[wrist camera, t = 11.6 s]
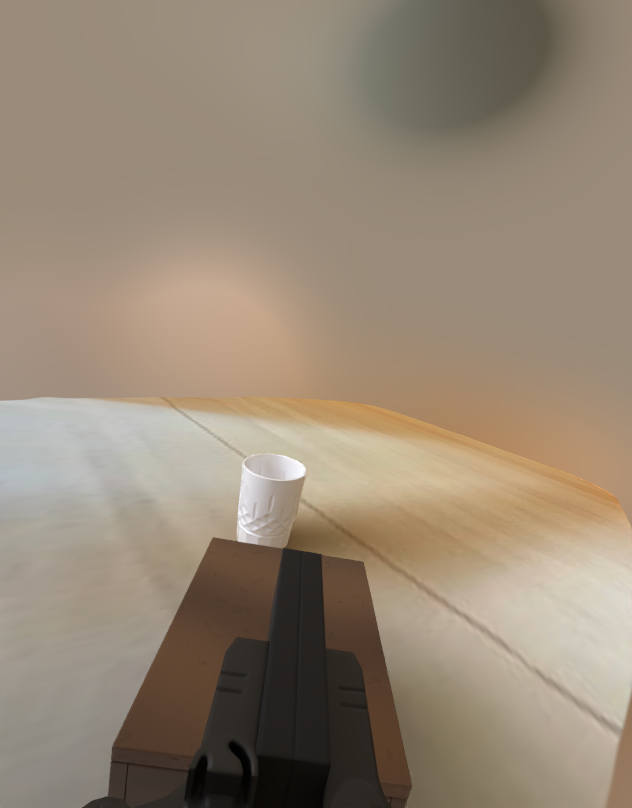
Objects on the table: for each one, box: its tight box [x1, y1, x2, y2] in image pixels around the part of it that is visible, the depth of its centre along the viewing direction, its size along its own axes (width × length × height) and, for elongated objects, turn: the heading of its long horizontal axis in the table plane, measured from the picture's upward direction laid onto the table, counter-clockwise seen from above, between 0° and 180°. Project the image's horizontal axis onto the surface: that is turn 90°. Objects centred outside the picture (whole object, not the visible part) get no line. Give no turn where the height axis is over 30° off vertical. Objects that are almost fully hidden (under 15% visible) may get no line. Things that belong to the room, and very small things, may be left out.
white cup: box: [237, 453, 307, 549], centre depth 44 cm, size 8×8×10 cm
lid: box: [111, 537, 412, 799], centre depth 21 cm, size 14×12×1 cm
